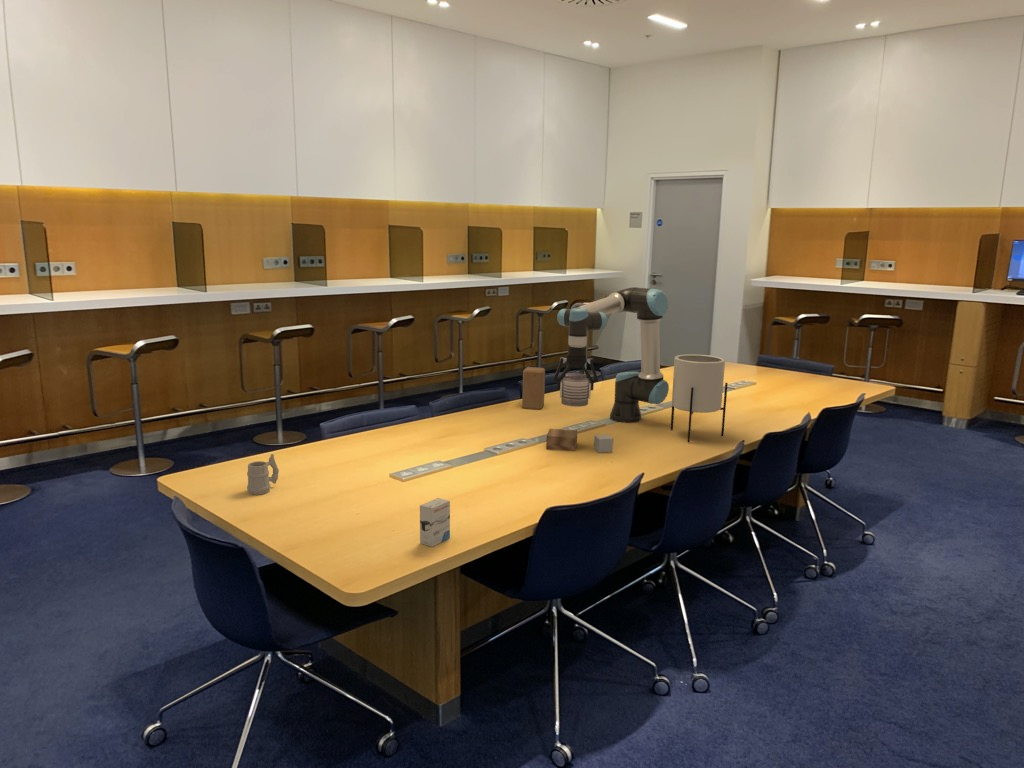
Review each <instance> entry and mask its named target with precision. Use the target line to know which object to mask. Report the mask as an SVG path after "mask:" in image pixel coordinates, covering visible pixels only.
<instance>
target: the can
mask: <svg viewBox="0 0 1024 768" xmlns="http://www.w3.org/2000/svg"><path fill="white" fill-rule="evenodd" d="M561 381H562V398H560V399H561V404H562V405H563V406H567V407H575V408H576V407H577V408H578V407H580V408H581V407H586V406H588V405H589V399H588V392H589V382H590V380H589V378H588V377H587V375H586V374H583V373H577V372H572V373H567V374H566V375H565V376H564V377H563V379H562V380H561Z"/></svg>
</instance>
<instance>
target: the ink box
mask: <svg viewBox="0 0 1024 768" xmlns="http://www.w3.org/2000/svg"><path fill="white" fill-rule="evenodd" d="M450 538H451V501H450V500H448V499H445V498H444V499H443V498H440V497H437V498H436V497H435V499H432V500H430V501H427V502H424V503H423V504H419V544H422V545H425V546H428V547H431V548H433V547H435V546H437V545H439V544H440V543H442V542H444V541H446V540H448V539H450Z"/></svg>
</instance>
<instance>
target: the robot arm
mask: <svg viewBox="0 0 1024 768" xmlns="http://www.w3.org/2000/svg"><path fill="white" fill-rule="evenodd" d="M668 307H669V301H668V297H667V295H666V293H665V292H664V291H663V290H661V289H656V288H646V287H627V288H623V289H620V290H618V291H614V292H612V293H610V294H609V295H608V296H607V297H606V296H605V297H604V298H601V299H597V300H594V301H592V302H588V303H586V304H583V305H580V306H577V307H573V308H561V309H560V310H559V311H558V312H557V316H556V317H557V319H556V320H557V322H558V324H559V325H560V326H563V327H567V328H568V339H567V341H568V347H567V356H566V357H559V363H558V366H557V369H556V371H555V373H554V375H553V377H552V378H553V381H555V382H557V387H556V389H557V390H559V398H560V399H562V379H563V377H564V376H565V375H566V374H568V373H569V371H570V370H571V369H582V370H583V372H584V373H585V375H587V377H588V378H589V392H588V400H590V399H591V391H594V385H595V383H598V382H599V378H598V376H597V372H596V370H595V366H594V359H593V358H587V347H586V346H587V345H588V343H587V342H588V340H587V339H588V331H599V330H600V331H601V330H603V329H606V326H608V325H607V324H608V317H607V315H611V314H613V313H615V314H619V313H623V312H624V313H625V312H626V313H634V314H636V319H637V321H638V322H639V323H640V365H641V366H640V367H641V368H640V369H641V370H640V372H639V371H625V372H623V371H622V372H619V373H617V374H616V376H615V382H614V402H613V406H612V408H611V411H610V413H609V414H610V415H609V419H610V420H612V421H615V422H618V423H631V424H632V423H638V422H641V421H642V411H641V408H640V404H639V403H640V402H643V403H647V404H650V405H660V404H662V403H663V402H664V401H665V400H666V398H667V396H668V395H669V390H670V387H669V383H668V381H666V380H665V379H664V374H663V373H662V372H661V356H660V355H661V350H660V349H661V348H660V345H661V343H660V336H661V335H660V322H661V320H662V319H663V318H664V317H663V316H664V315H665V314H666V313H667V312H668V311H667V310H668ZM566 362H567V364H568V365H567V366H566V367H565V369H564V370H563V371H562V373H560V372H561V370H562V367H563V365H564V364H565V363H566ZM586 363H588V364H589V367H590V369H591V372H592V375H593V378H592V376H591V375H590V374H591V373H589V371H588V370H587V367H586V366H585V364H586Z"/></svg>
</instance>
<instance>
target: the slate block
mask: <svg viewBox="0 0 1024 768" xmlns="http://www.w3.org/2000/svg"><path fill="white" fill-rule="evenodd" d="M593 439H594V440H593V441H594V442H593V450H594V449H595V450H594V451H596V452H597V453H598V454H605V453H606V452H610V453H613V450H614V449H613V448H614V446H613V445H614V438H613V437H612V436H610V434H598V435H597V434H595V435H594V438H593Z"/></svg>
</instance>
